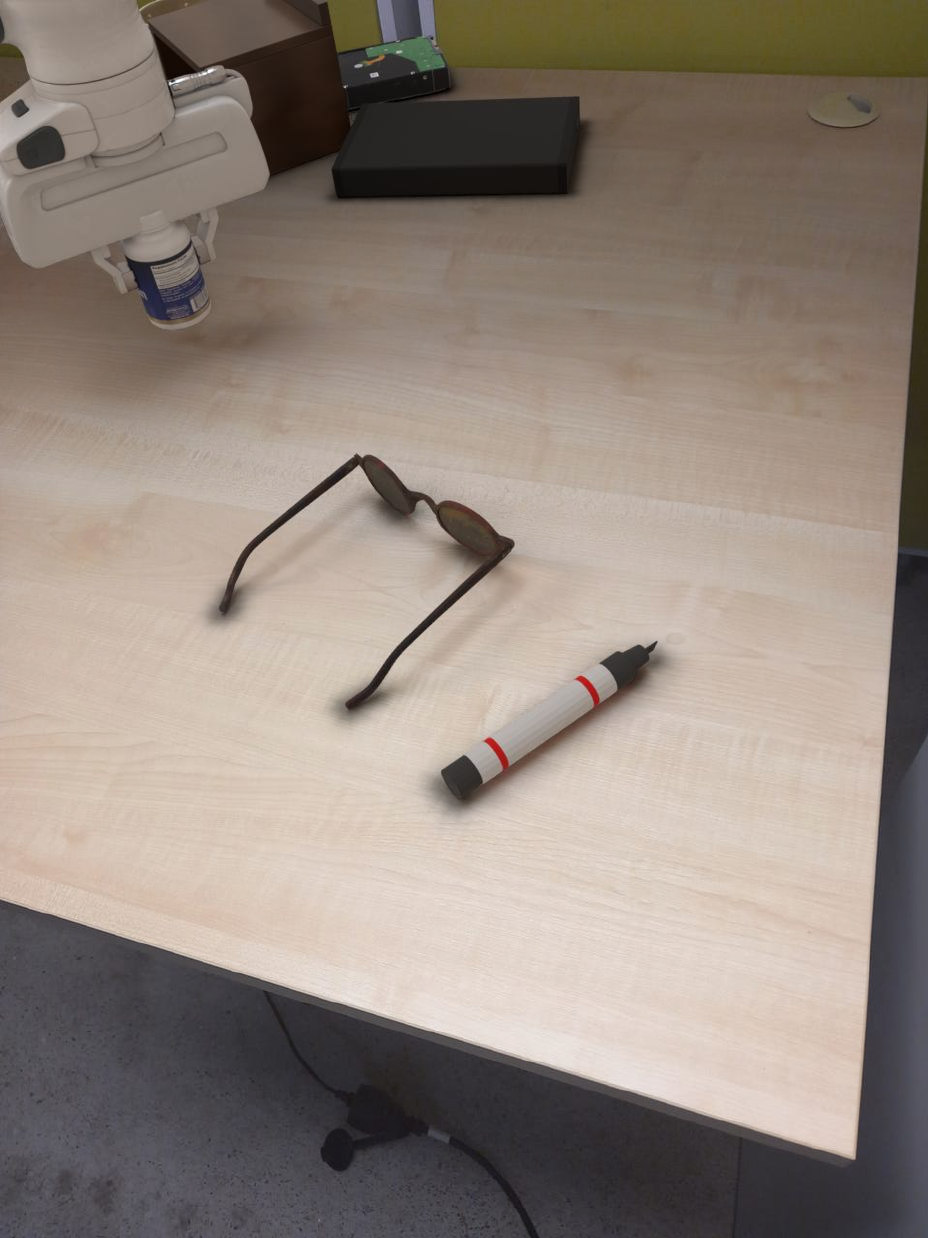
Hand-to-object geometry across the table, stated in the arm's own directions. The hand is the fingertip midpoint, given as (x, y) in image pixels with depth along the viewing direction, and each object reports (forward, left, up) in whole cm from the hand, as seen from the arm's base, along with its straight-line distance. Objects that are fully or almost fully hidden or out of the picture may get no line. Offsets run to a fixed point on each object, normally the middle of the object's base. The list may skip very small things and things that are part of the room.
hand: (166, 274), depth 83 cm
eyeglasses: (0, -34, -7) cm, 35 cm away
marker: (+5, -50, -7) cm, 51 cm away
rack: (+21, +32, -7) cm, 39 cm away
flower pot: (+20, +51, -7) cm, 55 cm away
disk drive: (+37, +35, -7) cm, 51 cm away
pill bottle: (0, 0, -4) cm, 4 cm away
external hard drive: (+35, +13, -7) cm, 38 cm away
